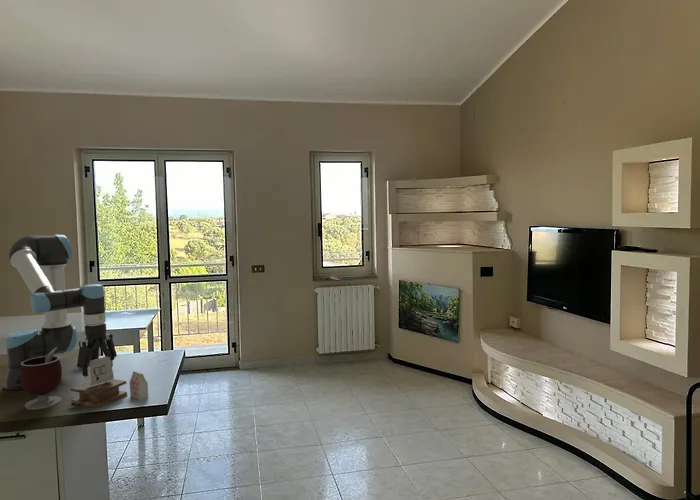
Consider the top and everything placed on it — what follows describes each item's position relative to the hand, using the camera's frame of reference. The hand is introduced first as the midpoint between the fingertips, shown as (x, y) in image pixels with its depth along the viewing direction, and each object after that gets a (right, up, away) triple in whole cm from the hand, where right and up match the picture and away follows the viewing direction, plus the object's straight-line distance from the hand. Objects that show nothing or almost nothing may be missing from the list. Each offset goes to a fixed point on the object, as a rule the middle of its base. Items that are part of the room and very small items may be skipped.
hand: (98, 379), depth 201 cm
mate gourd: (-20, -9, -2) cm, 22 cm away
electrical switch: (0, -1, 0) cm, 1 cm away
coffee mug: (-28, -5, +48) cm, 56 cm away
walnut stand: (0, -8, +1) cm, 8 cm away
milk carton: (+15, -8, +2) cm, 17 cm away
